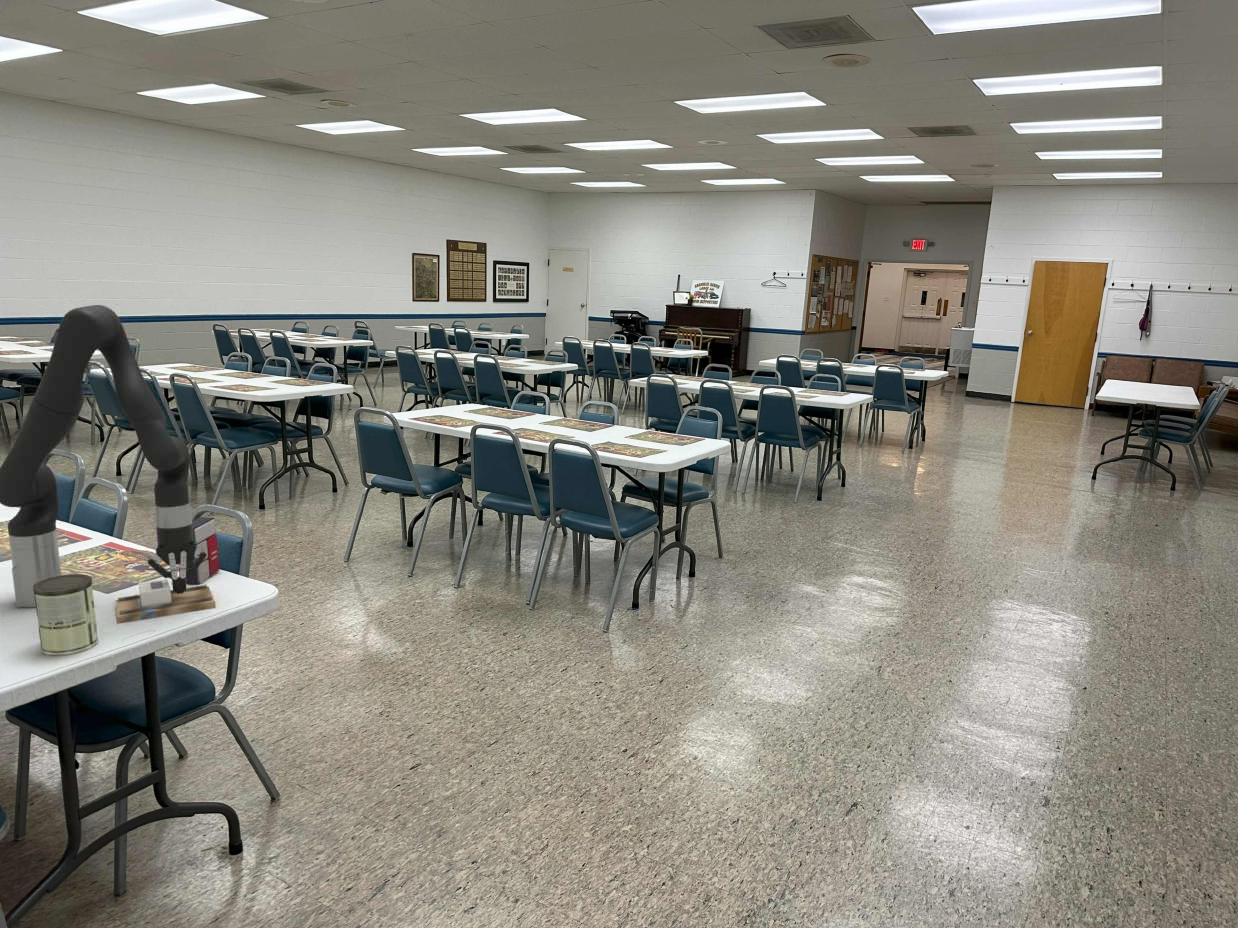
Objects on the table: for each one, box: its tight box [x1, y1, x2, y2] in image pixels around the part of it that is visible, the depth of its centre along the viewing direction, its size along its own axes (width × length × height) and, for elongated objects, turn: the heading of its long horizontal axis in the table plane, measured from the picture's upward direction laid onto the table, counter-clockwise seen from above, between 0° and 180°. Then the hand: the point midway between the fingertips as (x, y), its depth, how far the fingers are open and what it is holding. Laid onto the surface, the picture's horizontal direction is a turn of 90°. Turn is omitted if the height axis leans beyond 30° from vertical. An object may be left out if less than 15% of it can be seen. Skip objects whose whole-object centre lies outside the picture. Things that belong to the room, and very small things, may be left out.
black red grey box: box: [186, 516, 220, 586], centre depth 218 cm, size 11×4×15 cm, turn 179°
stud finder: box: [138, 578, 172, 607], centre depth 198 cm, size 6×8×4 cm
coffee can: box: [33, 573, 99, 657], centre depth 175 cm, size 10×10×14 cm
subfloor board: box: [114, 584, 217, 624], centre depth 199 cm, size 20×12×2 cm, turn 122°
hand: (180, 592), depth 201 cm, fingers closed
